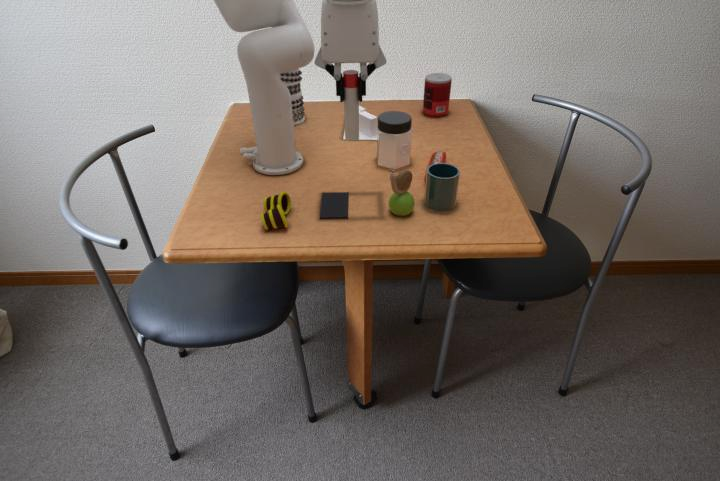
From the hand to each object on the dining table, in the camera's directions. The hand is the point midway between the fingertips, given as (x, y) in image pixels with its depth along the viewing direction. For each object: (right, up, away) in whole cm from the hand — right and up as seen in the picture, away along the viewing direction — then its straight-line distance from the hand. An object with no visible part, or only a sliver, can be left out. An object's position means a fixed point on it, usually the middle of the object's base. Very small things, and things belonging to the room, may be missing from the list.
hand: (351, 98), depth 90 cm
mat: (0, -19, +15) cm, 24 cm away
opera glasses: (-16, -23, +11) cm, 30 cm away
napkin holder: (+3, +5, +47) cm, 48 cm away
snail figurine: (+10, -22, +12) cm, 26 cm away
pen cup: (+19, -19, +15) cm, 31 cm away
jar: (+10, -7, +31) cm, 33 cm away
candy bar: (+20, -11, +26) cm, 34 cm away
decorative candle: (-19, +9, +53) cm, 57 cm away
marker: (0, -6, +5) cm, 8 cm away
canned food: (+25, +12, +56) cm, 63 cm away
